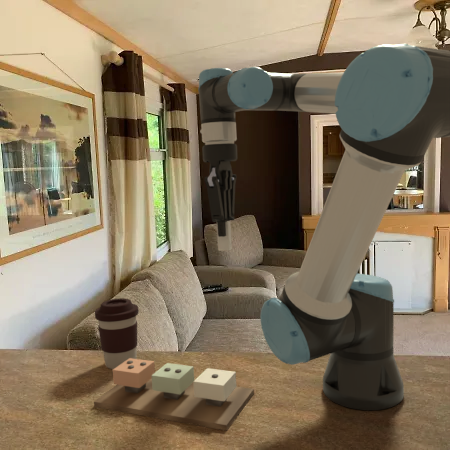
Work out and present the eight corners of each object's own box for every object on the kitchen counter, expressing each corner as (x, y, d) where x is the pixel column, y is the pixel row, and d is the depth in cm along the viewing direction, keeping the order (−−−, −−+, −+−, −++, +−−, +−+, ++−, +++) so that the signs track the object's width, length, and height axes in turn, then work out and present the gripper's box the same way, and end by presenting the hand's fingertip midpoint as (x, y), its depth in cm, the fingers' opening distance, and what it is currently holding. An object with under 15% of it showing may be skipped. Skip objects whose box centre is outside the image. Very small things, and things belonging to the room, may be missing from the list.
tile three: (155, 375, 100) (154, 360, 99) (139, 388, 94) (138, 372, 94) (130, 371, 102) (129, 357, 101) (113, 384, 96) (112, 368, 96)
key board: (253, 393, 96) (253, 383, 95) (226, 430, 83) (226, 418, 83) (134, 376, 107) (133, 366, 106) (94, 406, 94) (93, 395, 94)
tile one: (236, 386, 92) (235, 370, 92) (224, 401, 87) (223, 384, 87) (208, 382, 95) (207, 367, 94) (194, 396, 89) (193, 380, 89)
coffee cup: (132, 373, 108) (127, 308, 106) (92, 372, 110) (86, 308, 108) (148, 356, 118) (143, 296, 116) (110, 354, 120) (105, 296, 118)
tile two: (194, 380, 96) (193, 365, 96) (180, 394, 91) (179, 378, 90) (168, 377, 98) (167, 362, 98) (152, 390, 93) (151, 374, 92)
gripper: (215, 145, 112) (220, 244, 115) (190, 144, 100) (197, 255, 103) (245, 143, 110) (250, 245, 112) (224, 141, 98) (229, 256, 101)
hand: (225, 250), depth 108 cm, fingers closed
